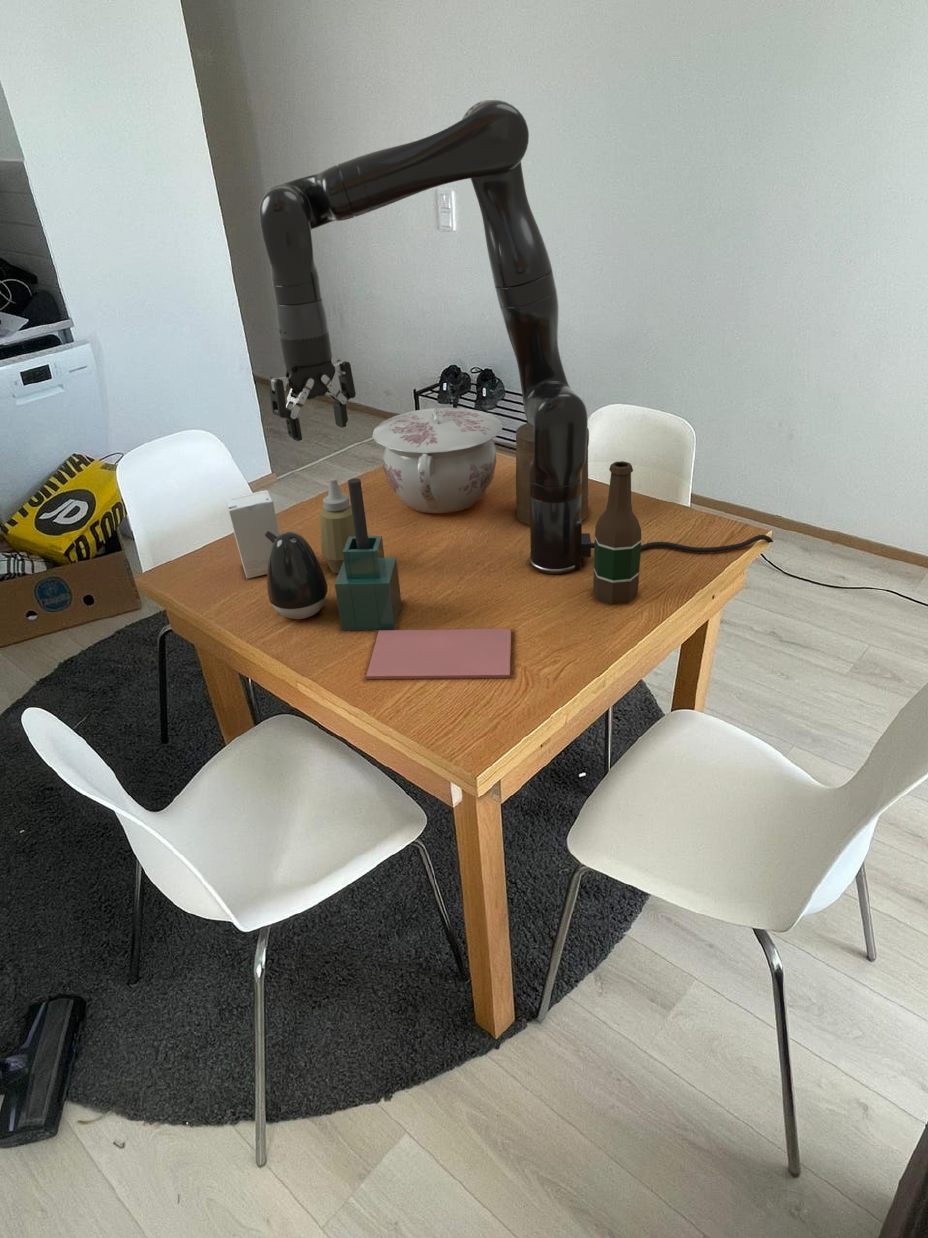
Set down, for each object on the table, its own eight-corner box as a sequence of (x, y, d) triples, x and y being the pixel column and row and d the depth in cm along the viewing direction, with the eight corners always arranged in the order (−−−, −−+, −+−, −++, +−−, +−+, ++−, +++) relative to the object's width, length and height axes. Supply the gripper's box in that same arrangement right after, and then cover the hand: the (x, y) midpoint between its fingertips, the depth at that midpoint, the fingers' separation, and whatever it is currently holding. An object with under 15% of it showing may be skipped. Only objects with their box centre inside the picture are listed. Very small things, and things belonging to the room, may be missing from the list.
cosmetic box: (283, 558, 163) (269, 488, 155) (288, 571, 158) (274, 499, 150) (240, 567, 161) (224, 496, 153) (244, 580, 156) (228, 508, 148)
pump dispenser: (300, 591, 151) (286, 515, 143) (342, 605, 146) (330, 527, 138) (259, 616, 144) (242, 538, 136) (301, 632, 139) (286, 552, 131)
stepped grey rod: (379, 612, 143) (361, 477, 130) (377, 620, 141) (359, 483, 128) (367, 612, 143) (349, 477, 130) (365, 620, 141) (346, 483, 128)
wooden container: (577, 496, 180) (579, 396, 169) (595, 524, 168) (599, 419, 156) (510, 503, 179) (508, 403, 168) (524, 532, 167) (522, 427, 155)
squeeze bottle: (359, 578, 154) (346, 488, 145) (318, 576, 156) (303, 487, 146) (372, 558, 161) (360, 471, 151) (332, 556, 162) (319, 470, 153)
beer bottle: (610, 610, 139) (616, 477, 127) (583, 591, 145) (587, 461, 133) (647, 597, 142) (656, 466, 130) (619, 579, 148) (626, 451, 136)
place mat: (511, 631, 136) (511, 628, 135) (510, 678, 125) (509, 674, 124) (379, 633, 137) (378, 630, 137) (366, 679, 126) (366, 676, 126)
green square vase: (401, 602, 146) (393, 530, 138) (394, 629, 138) (385, 555, 131) (351, 603, 146) (340, 532, 139) (341, 630, 139) (330, 556, 131)
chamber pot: (447, 468, 199) (441, 382, 188) (530, 497, 181) (529, 405, 170) (354, 504, 183) (341, 413, 172) (434, 541, 166) (426, 442, 155)
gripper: (275, 344, 121) (294, 450, 129) (355, 325, 128) (368, 426, 137) (250, 337, 126) (270, 439, 134) (329, 319, 133) (343, 417, 142)
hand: (319, 432), depth 136 cm, fingers open, 8 cm apart
